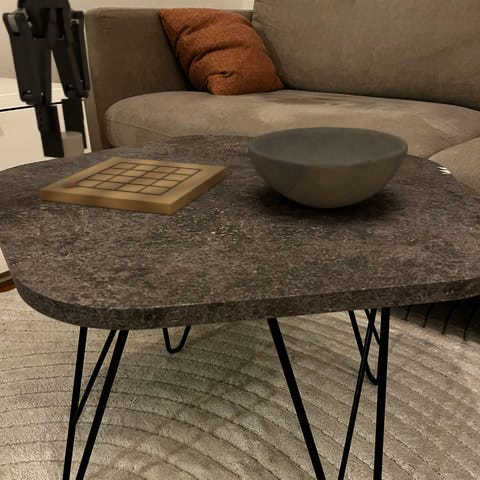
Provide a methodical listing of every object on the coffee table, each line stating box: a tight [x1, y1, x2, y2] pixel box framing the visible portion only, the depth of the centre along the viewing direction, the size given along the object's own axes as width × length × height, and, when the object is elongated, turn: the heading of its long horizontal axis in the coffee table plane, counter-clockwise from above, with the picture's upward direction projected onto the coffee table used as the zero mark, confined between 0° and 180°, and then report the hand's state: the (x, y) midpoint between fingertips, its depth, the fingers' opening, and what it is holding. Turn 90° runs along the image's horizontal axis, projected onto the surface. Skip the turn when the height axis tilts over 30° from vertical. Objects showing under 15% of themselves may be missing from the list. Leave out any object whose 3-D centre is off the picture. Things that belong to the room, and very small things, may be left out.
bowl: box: [246, 126, 409, 209], centre depth 80 cm, size 21×21×8 cm
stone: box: [51, 131, 85, 159], centre depth 80 cm, size 5×5×3 cm
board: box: [39, 156, 228, 216], centre depth 87 cm, size 20×20×2 cm
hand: (66, 152), depth 81 cm, fingers closed on stone, 5 cm apart
